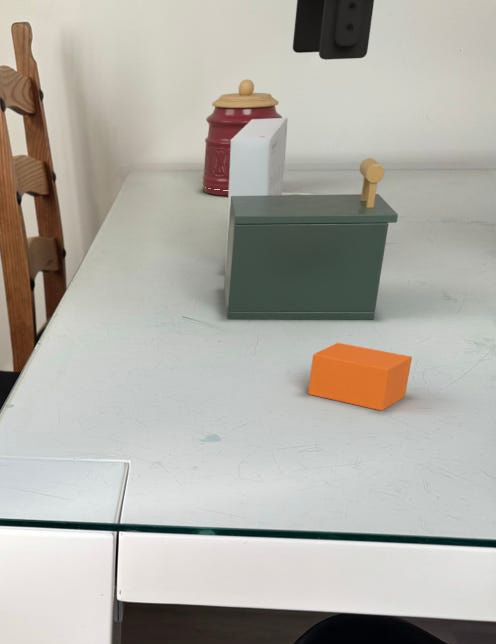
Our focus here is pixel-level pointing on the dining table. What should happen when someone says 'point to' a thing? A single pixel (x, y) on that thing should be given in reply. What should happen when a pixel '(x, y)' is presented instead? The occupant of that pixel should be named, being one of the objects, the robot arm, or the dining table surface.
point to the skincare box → (257, 160)
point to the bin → (303, 270)
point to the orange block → (359, 375)
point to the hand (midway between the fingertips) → (327, 54)
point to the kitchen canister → (231, 131)
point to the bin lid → (319, 205)
